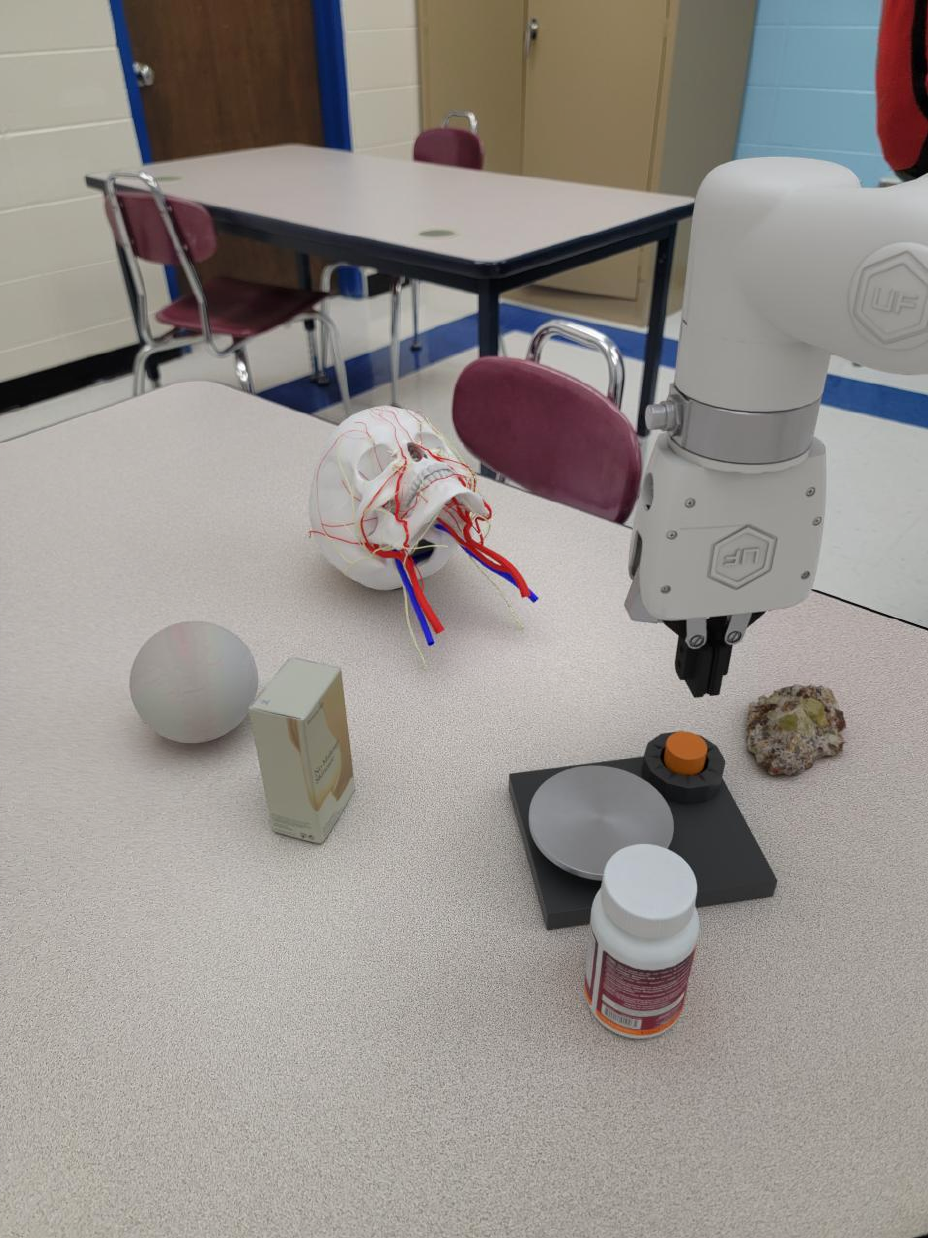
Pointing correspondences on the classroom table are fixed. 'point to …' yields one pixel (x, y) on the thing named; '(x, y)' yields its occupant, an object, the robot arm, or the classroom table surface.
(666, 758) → the tare button
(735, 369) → the robot arm
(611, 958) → the pill bottle
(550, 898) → the scale
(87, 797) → the classroom table surface
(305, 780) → the cosmetic box
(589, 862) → the weighing pan
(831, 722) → the mineral rock
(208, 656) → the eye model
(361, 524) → the anatomical skull model
